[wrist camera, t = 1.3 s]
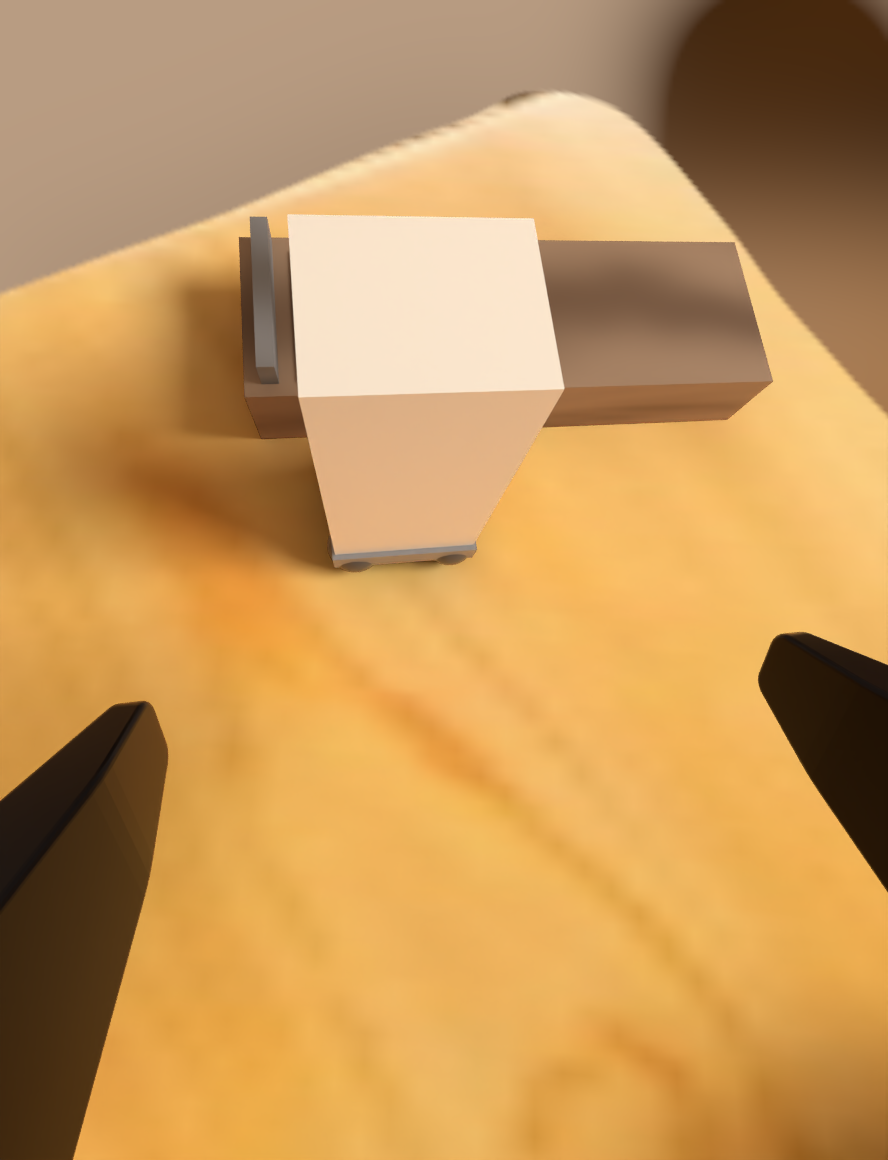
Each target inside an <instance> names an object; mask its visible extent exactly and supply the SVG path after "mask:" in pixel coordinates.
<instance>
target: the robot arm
mask: <svg viewBox="0 0 888 1160" xmlns="http://www.w3.org/2000/svg"><path fill="white" fill-rule="evenodd" d="M758 683H759V687H760V690H761V692H762V694H763V696H764V698H765V699H766V701H767V703H768V705H769V707H770V708H771V710H772V712H773V714H774V716H775V717H776V719H777V721H778V723H779V725H780V726H781V728H782V730H783V732H784V733H785V735H786V737H787V739H788V741H789V742H790V744H791V746H792V748H793V750H794V751H795V753H796V755H797V757H798V758H799V760H800V762H801V764H802V766H803V767H804V769H805V771H806V772H807V774H808V776H809V777H810V779H811V781H812V782H813V784H814V785H815V787H816V788H817V790H818V791H819V793H820V794H821V796H822V797H823V799H824V800H825V802H826V803H827V804H828V806H829V807H830V809H831V810H832V812H833V813H834V815H835V816H836V818H837V819H838V820H839V822H840V823H841V825H842V826H843V828H844V829H845V831H846V832H847V834H848V835H849V837H850V838H851V839H852V841H853V842H854V844H855V845H856V847H857V848H858V850H859V851H860V853H861V854H862V855H863V857H864V858H865V860H866V861H867V863H868V864H869V866H870V867H871V869H872V870H873V871H874V873H875V874H876V876H877V877H878V879H879V880H880V882H881V883H882V885H883V886H884V888H885V889H886V890H887V892H888V665H887V664H884V663H882V662H879V661H877V660H874V659H872V658H869V657H867V656H864V655H862V654H859V653H857V652H854V651H852V650H849V649H847V648H844V647H842V646H839V645H837V644H834V643H832V642H829V641H827V640H824V639H822V638H819V637H817V636H814V635H812V634H809V633H806V632H795V633H785V634H780V635H778V636H776V637H775V638H774V639H773V641H772V642H771V645H770V647H769V650H768V652H767V655H766V657H765V660H764V662H763V664H762V667H761V669H760V672H759V675H758ZM167 765H168V748H167V743H166V741H165V738H164V735H163V732H162V730H161V727H160V724H159V721H158V719H157V716H156V713H155V710H154V708H153V706H152V705H151V704H150V703H149V702H146V701H138V702H129V703H120V704H116V705H113V706H112V707H110V708H109V709H107V710H106V711H105V712H104V713H103V714H102V715H100V716H99V717H98V718H97V719H96V720H95V721H93V722H92V723H91V724H90V725H89V726H88V727H86V728H85V729H84V730H83V731H82V732H81V733H79V734H78V735H77V736H76V737H75V738H73V739H72V740H71V741H70V742H69V743H68V744H66V745H65V746H64V747H63V748H62V749H61V750H59V751H58V752H57V753H56V754H55V755H54V756H52V757H51V758H50V759H49V760H48V761H46V762H45V763H44V764H43V765H42V766H41V767H39V768H38V769H37V770H36V771H35V772H34V773H32V774H31V775H30V776H29V777H28V778H27V779H25V780H24V781H23V782H22V783H21V784H19V785H18V786H17V787H16V788H15V789H14V790H12V791H11V792H10V793H9V794H8V795H7V796H5V797H4V798H3V799H2V800H1V801H0V1160H73V1157H74V1154H75V1150H76V1146H77V1143H78V1139H79V1135H80V1132H81V1128H82V1124H83V1121H84V1117H85V1113H86V1110H87V1106H88V1102H89V1099H90V1095H91V1091H92V1088H93V1084H94V1080H95V1077H96V1073H97V1069H98V1066H99V1062H100V1058H101V1055H102V1051H103V1047H104V1044H105V1040H106V1036H107V1033H108V1029H109V1025H110V1022H111V1018H112V1015H113V1011H114V1007H115V1004H116V1000H117V996H118V993H119V989H120V985H121V982H122V978H123V974H124V971H125V967H126V963H127V960H128V956H129V952H130V949H131V945H132V941H133V938H134V934H135V930H136V927H137V923H138V919H139V916H140V912H141V908H142V905H143V901H144V897H145V893H146V889H147V885H148V881H149V877H150V872H151V866H152V861H153V855H154V848H155V842H156V835H157V829H158V823H159V816H160V810H161V803H162V797H163V790H164V784H165V778H166V771H167Z"/></svg>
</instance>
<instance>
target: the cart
mask: <svg viewBox="0 0 888 1160" xmlns="http://www.w3.org/2000/svg"><path fill="white" fill-rule="evenodd" d="M288 231H289V248H290V265H291V281H292V298H293V315H294V332H295V349H296V366H297V383H298V398H299V402H300V407H301V411H302V415H303V419H304V424H305V428H306V432H307V437H308V441H309V445H310V449H311V454H312V458H313V462H314V466H315V471H316V475H317V479H318V484H319V488H320V492H321V496H322V501H323V505H324V509H325V514H326V518H327V522H328V526H329V531H330V535H329V538H328V552H329V555H330V557H331V559H332V561H333V564H334V568H338V567H339V568H341V569H343V570H345V571H349V572H361V571H364V570H367V569H368V568H370V567H371V566H373V565H378V564H391V563H404V562H417V561H430V560H435V561H436V562H438V563H441V564H444V565H454V564H458V563H460V562H462V561H464V560H465V559H466V558H470V557H473V555H474V553H475V552H476V550H477V547H476V540H477V538H478V536H479V534H480V533H481V531H482V529H483V528H484V526H485V524H486V522H487V521H488V519H489V517H490V516H491V514H492V512H493V511H494V509H495V507H496V505H497V504H498V502H499V500H500V499H501V497H502V495H503V493H504V492H505V490H506V488H507V487H508V485H509V483H510V482H511V480H512V478H513V476H514V475H515V473H516V471H517V470H518V468H519V466H520V464H521V463H522V461H523V459H524V458H525V456H526V454H527V452H528V451H529V449H530V447H531V446H532V444H533V442H534V441H535V439H536V437H537V435H538V434H539V432H540V430H541V429H542V427H543V425H544V423H545V422H546V420H547V418H548V417H549V415H550V413H551V411H552V410H553V408H554V406H555V405H556V403H557V401H558V400H559V398H560V396H561V394H562V393H563V391H564V383H563V378H562V372H561V367H560V361H559V356H558V350H557V345H556V339H555V334H554V328H553V322H552V317H551V311H550V306H549V300H548V295H547V289H546V284H545V278H544V273H543V267H542V262H541V256H540V251H539V245H538V240H537V234H536V229H535V223H534V219H533V218H471V217H410V216H349V215H288Z"/></svg>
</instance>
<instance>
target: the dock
mask: <svg viewBox="0 0 888 1160" xmlns="http://www.w3.org/2000/svg"><path fill="white" fill-rule="evenodd" d="M250 233H251V237H239V252H240V280H241V309H242V338H243V367H244V395H245V400H246V402H247V405H248V407H249V410H250V412H251V415H252V417H253V420H254V422H255V425H256V427H257V430H258V432H259V435H260V437H261V439H265V438H289V437H307V432H306V428H305V424H304V419H303V415H302V411H301V407H300V402H299V398H298V383H297V366H296V349H295V332H294V315H293V298H292V281H291V265H290V248H289V238H271V234H270V229H269V225H268V220H267V217H250ZM538 245H539V251H540V256H541V262H542V267H543V273H544V278H545V284H546V289H547V295H548V300H549V306H550V311H551V317H552V322H553V328H554V334H555V339H556V345H557V350H558V356H559V361H560V367H561V372H562V378H563V383H564V391H563V393H562V394H561V396H560V398H559V400H558V401H557V403H556V405H555V406H554V408H553V410H552V411H551V413H550V415H549V417H548V418H547V420H546V422H545V423H544V425H543V427H556V426H580V425H605V424H629V423H653V422H677V421H702V420H726V419H729V418H730V417H731V416H732V415H733V414H735V413H736V412H737V411H738V410H739V409H740V408H742V407H743V406H744V405H745V404H746V403H748V402H749V401H750V400H751V399H752V398H754V397H755V396H756V395H757V394H758V393H760V392H761V391H762V390H763V389H764V388H766V387H767V386H768V385H769V384H770V383H772V382H773V380H772V376H771V372H770V369H769V365H768V361H767V358H766V354H765V351H764V347H763V343H762V340H761V336H760V333H759V329H758V325H757V322H756V318H755V315H754V311H753V307H752V304H751V300H750V297H749V293H748V289H747V286H746V282H745V279H744V275H743V271H742V268H741V264H740V260H739V257H738V253H737V250H736V246H735V242H642V241H545V240H538Z"/></svg>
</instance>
